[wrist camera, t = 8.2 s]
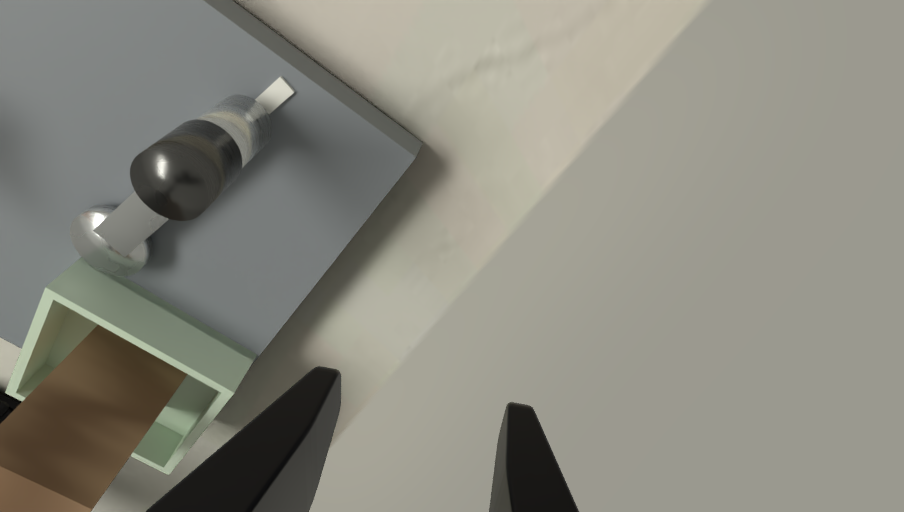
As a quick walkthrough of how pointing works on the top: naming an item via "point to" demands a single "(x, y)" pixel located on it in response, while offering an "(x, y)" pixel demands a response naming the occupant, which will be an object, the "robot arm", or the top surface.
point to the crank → (173, 183)
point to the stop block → (82, 425)
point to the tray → (147, 326)
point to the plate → (155, 115)
